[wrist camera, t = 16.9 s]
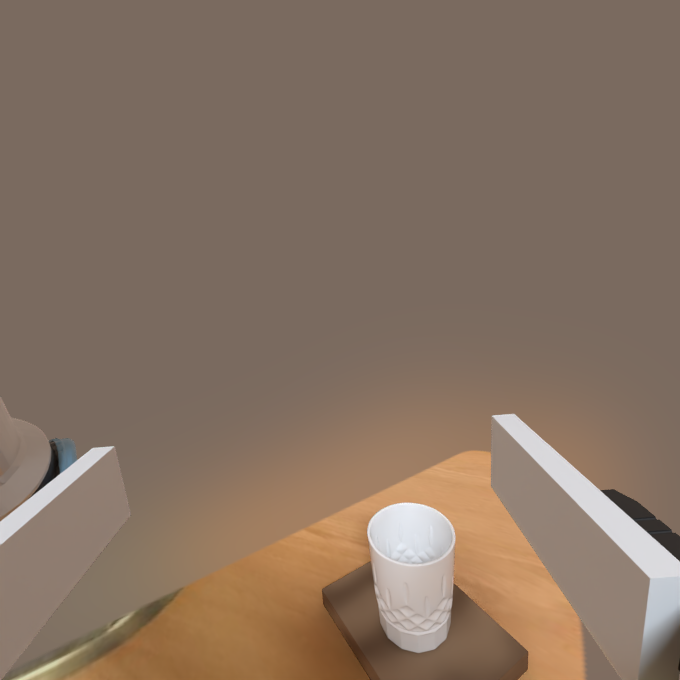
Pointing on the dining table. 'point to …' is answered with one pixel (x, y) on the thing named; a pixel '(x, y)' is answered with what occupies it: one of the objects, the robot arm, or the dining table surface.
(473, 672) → the walnut board
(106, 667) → the dining table surface
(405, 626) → the white cup
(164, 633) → the dining table surface
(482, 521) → the dining table surface
